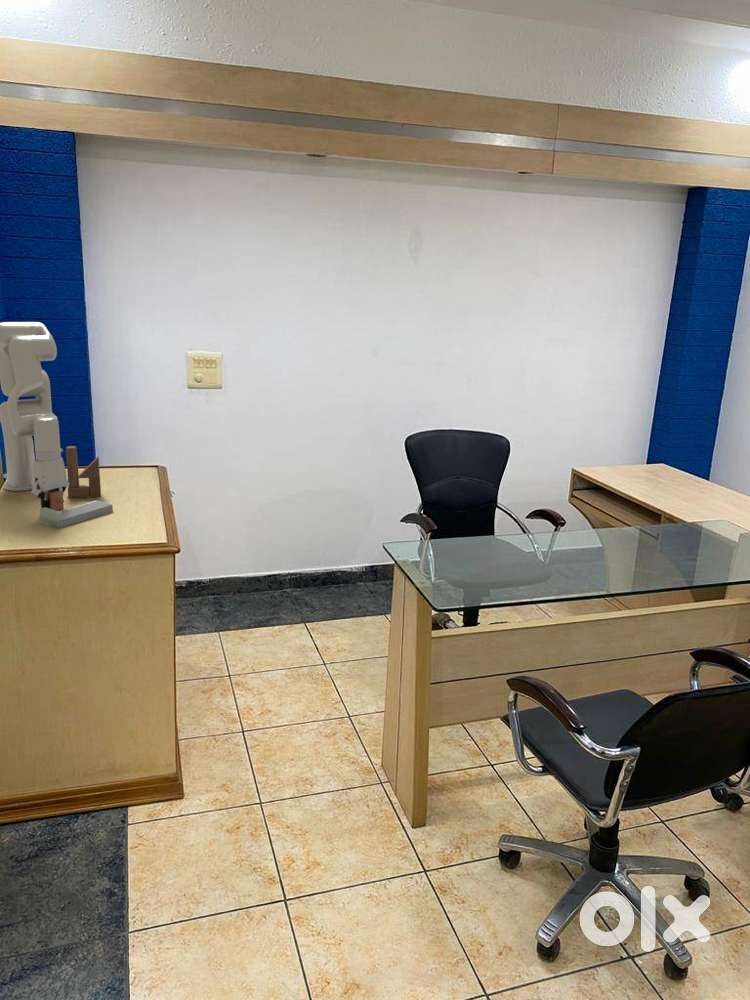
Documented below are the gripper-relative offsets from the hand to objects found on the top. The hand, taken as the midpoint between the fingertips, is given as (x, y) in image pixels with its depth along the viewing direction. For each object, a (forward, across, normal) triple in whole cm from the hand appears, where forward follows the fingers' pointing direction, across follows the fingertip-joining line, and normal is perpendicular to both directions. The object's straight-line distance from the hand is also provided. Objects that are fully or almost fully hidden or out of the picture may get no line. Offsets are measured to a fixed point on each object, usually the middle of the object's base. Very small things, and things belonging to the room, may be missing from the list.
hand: (52, 508), depth 259 cm
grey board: (+2, -3, +8) cm, 9 cm away
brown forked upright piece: (+3, -20, -9) cm, 22 cm away
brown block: (+1, 0, +1) cm, 2 cm away
